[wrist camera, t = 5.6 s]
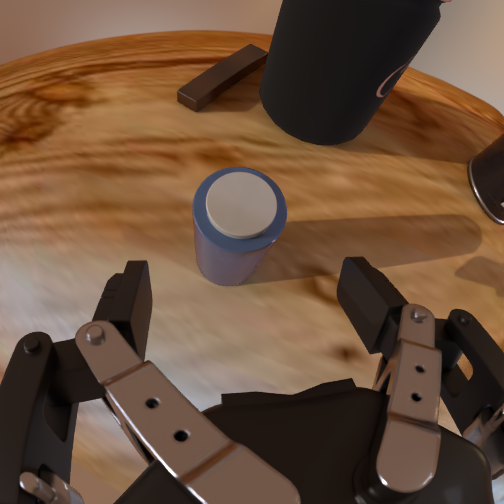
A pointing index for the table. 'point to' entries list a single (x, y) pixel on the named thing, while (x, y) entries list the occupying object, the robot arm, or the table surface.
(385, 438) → the robot arm
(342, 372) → the table surface
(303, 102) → the coffee jar
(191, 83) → the walnut stick
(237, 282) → the salt shaker
